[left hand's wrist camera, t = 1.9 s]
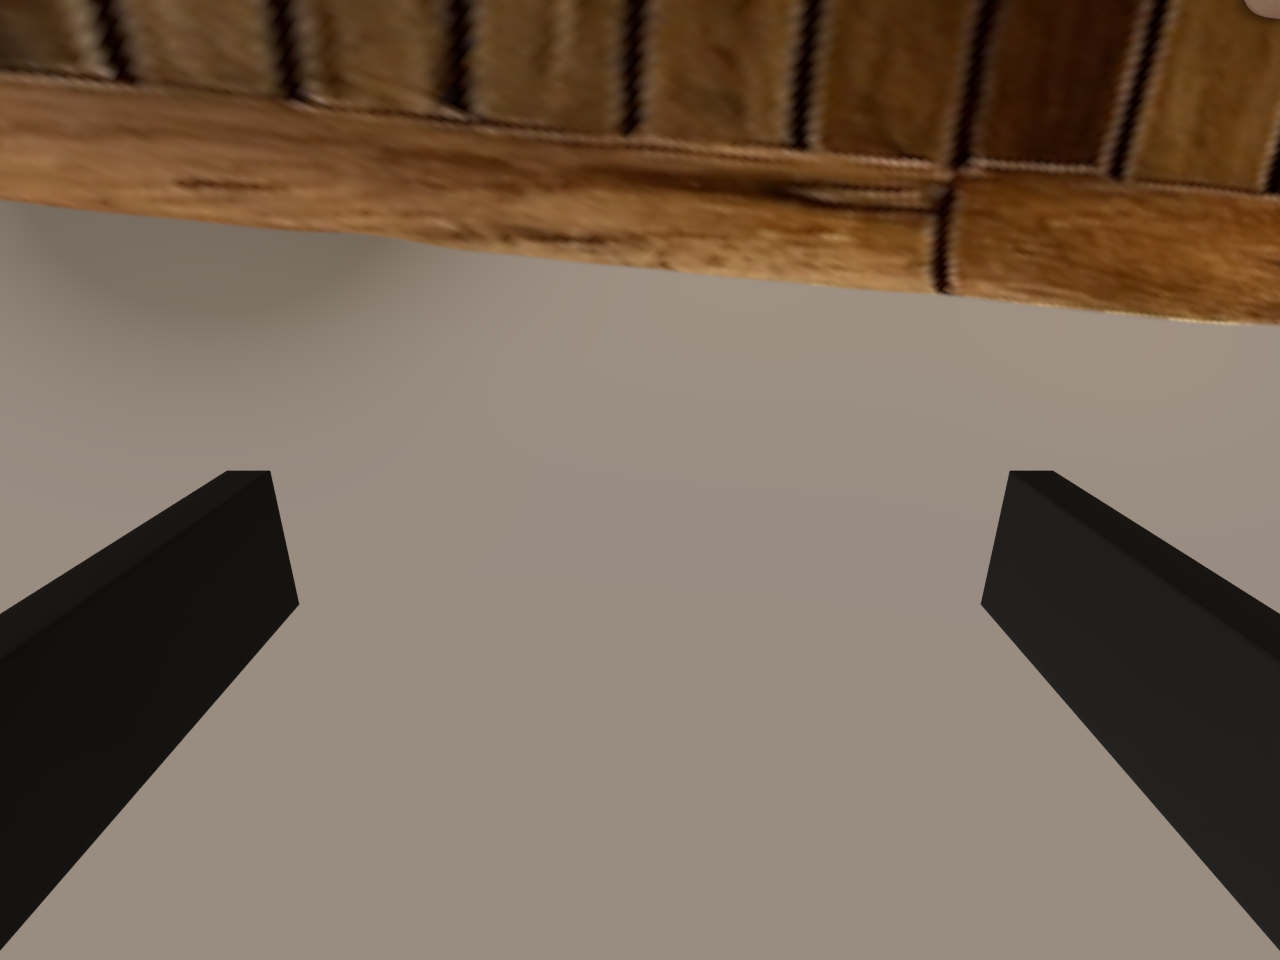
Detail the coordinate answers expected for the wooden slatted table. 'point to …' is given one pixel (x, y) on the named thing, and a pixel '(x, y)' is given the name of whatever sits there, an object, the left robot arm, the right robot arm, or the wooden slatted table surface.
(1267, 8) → the anatomical model
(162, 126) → the wooden slatted table surface
